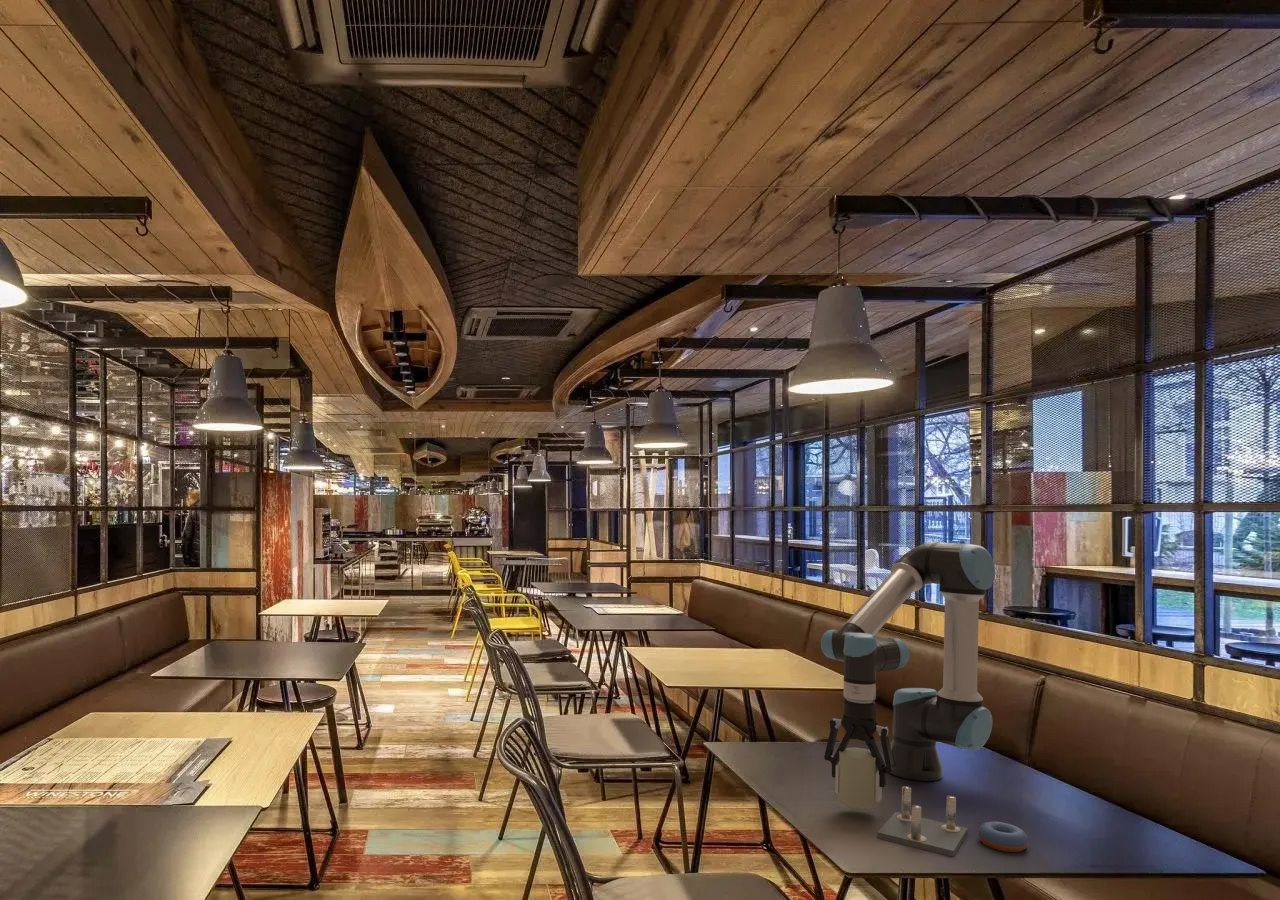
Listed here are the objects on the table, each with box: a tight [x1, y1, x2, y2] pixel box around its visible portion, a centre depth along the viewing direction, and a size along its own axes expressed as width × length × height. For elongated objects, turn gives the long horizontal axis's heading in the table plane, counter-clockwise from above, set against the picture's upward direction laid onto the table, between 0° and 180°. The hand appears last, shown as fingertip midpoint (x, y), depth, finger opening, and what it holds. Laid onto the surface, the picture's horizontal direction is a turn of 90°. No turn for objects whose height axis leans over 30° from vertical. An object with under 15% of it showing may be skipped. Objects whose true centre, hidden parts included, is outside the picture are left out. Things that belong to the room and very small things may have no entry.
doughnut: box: [978, 821, 1029, 853], centre depth 180 cm, size 10×10×5 cm
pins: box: [901, 785, 957, 841], centre depth 183 cm, size 14×12×7 cm
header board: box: [876, 811, 969, 857], centre depth 183 cm, size 16×16×1 cm
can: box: [837, 746, 879, 811], centre depth 195 cm, size 9×9×12 cm
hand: (858, 795), depth 195 cm, fingers closed on can, 9 cm apart
